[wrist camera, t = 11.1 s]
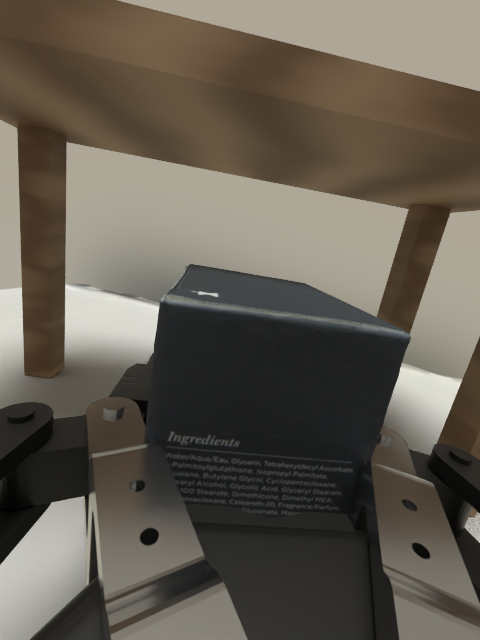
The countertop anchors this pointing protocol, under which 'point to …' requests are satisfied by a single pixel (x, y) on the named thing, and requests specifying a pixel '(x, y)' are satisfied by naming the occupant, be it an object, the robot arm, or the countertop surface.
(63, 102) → the low shelf
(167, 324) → the box
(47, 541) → the countertop surface
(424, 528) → the robot arm
